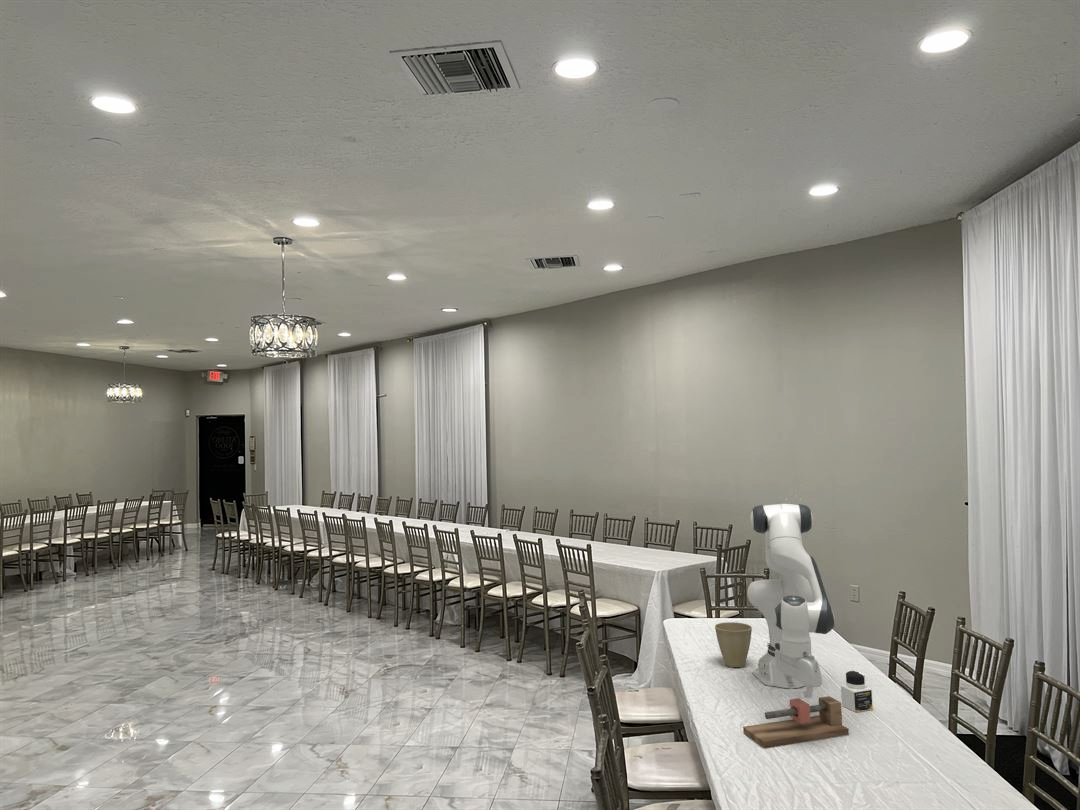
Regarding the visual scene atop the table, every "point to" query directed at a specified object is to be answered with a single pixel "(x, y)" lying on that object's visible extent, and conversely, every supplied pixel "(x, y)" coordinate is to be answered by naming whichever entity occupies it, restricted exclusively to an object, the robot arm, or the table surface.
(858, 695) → the medicine bottle
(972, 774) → the table surface
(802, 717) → the square nut
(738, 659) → the plant pot
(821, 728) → the rod stand
